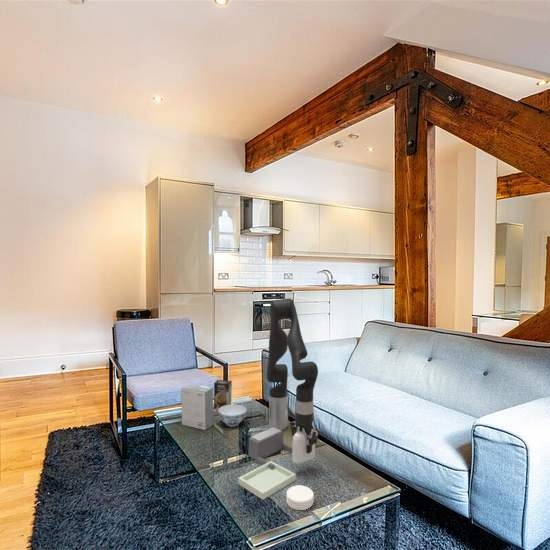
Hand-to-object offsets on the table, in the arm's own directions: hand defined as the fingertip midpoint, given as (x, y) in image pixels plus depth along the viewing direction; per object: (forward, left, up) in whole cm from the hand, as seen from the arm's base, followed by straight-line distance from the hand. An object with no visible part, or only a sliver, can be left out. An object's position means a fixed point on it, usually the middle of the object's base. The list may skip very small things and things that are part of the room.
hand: (303, 450), depth 158 cm
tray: (+16, -5, -9) cm, 19 cm away
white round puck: (+16, +12, -9) cm, 22 cm away
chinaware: (-8, -56, -9) cm, 57 cm away
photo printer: (0, 0, -4) cm, 4 cm away
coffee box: (-17, -76, -9) cm, 78 cm away
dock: (0, -17, -9) cm, 19 cm away
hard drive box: (+6, -68, -9) cm, 69 cm away
